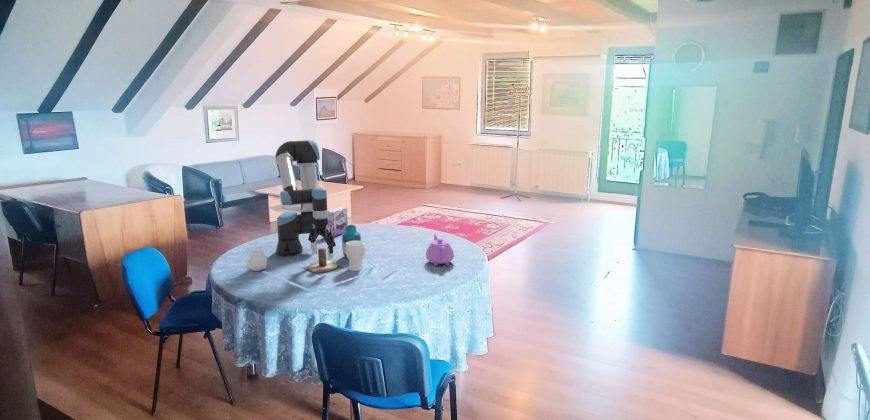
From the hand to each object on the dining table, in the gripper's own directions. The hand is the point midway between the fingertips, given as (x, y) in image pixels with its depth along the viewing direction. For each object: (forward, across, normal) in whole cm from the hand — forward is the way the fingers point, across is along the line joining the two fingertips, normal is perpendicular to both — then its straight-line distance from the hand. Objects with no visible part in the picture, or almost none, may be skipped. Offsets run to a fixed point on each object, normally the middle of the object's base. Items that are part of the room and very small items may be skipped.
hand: (322, 256), depth 283 cm
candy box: (+7, -48, +49) cm, 69 cm away
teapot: (+8, +39, +50) cm, 64 cm away
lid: (+6, 0, 0) cm, 6 cm away
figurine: (+7, -25, -23) cm, 35 cm away
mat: (+7, 0, 0) cm, 7 cm away
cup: (+8, +14, +11) cm, 19 cm away
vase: (+7, -2, +22) cm, 23 cm away
